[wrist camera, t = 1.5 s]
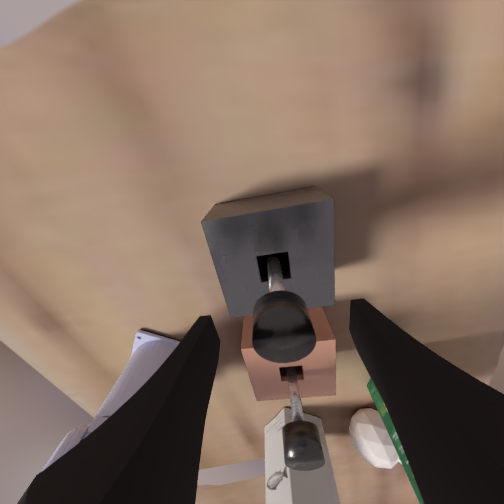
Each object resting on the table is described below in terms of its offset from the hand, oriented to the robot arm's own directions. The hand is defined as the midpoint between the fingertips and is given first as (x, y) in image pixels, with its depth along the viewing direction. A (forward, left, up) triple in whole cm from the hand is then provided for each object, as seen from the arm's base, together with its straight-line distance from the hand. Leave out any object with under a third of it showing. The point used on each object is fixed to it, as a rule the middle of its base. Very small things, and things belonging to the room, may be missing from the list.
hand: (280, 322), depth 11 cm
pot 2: (-11, -7, -11) cm, 17 cm away
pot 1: (0, 0, -11) cm, 11 cm away
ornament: (-22, -27, -11) cm, 36 cm away
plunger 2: (-11, -7, -6) cm, 15 cm away
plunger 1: (0, 0, -6) cm, 6 cm away
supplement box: (-30, -18, -11) cm, 36 cm away
